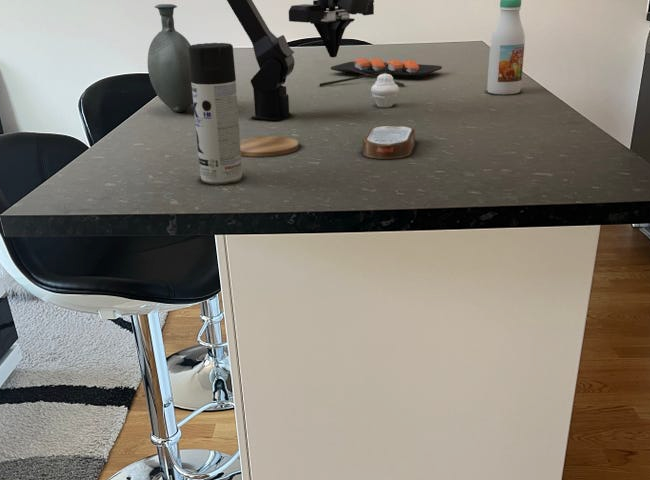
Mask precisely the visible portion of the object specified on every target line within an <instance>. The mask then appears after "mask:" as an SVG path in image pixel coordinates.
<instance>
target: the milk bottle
mask: <svg viewBox="0 0 650 480" xmlns="http://www.w3.org/2000/svg"><path fill="white" fill-rule="evenodd" d="M521 6H522V0H500V1H499V10H500V14H499V18H498V20H497V23H496V24H495V27H494V28H493V31H492V34H491V38H490V45H489V56H488V57H489V58H488V68H487V69H488V70H487V83H486V84H487V85H486V91H487V92H488V93H489V94H493V95H514V94H519V93H520V92H521V89H522V80H523V79H522V78H523V69H524V68H523V67H524V55H525V44H526V43H525V41H526V40H525V39H526V37H525V31H524V27H523V25H522V21H521V16H520V11H521V8H522V7H521Z"/></svg>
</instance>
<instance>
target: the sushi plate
mask: <svg viewBox="0 0 650 480" xmlns="http://www.w3.org/2000/svg"><path fill="white" fill-rule="evenodd" d="M442 69H443V66H442V65H435V64H419V63H418V62H416V61H415V60H414V59H413V60H412V59H405V60H402V62H401V61H400V60H399V59H391V60H389V61H387V62H384V61H383V60H382V59H381V58H378V57H377V58H376V57H373V58H371V59H367V58H365V57H360V58H356V59H354V61H347V62H344V63H339V64H336V65H332V66H331V67H330V70H331V71H336V72H341V73H344V75H347V76H353V77H348V78H343V79H337V80H332V81H326V82H321V83H319V86H320V87H323V86H329V85H335V84H341V83H344V82H349V81H355V80H359V79H364V78H369V77H371V78H374V79H377V77H378V76H379V75H381V74H384V73H386V74H390V75H391V76H392V77H393V79H406V80H407V79H409V80H412V79H413V80H415V79H416V80H417V79H421V78H425V77H427V76H429V74H431V73H434V72H437V71H440V70H442ZM354 76H355V77H354ZM393 81H394V82H395V84H397V86H398V87H399V86H400V87H405V84H404V83H403V82H400V81H395V80H393Z"/></svg>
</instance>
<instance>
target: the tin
mask: <svg viewBox="0 0 650 480" xmlns="http://www.w3.org/2000/svg"><path fill="white" fill-rule="evenodd" d="M415 135H416V134H415V129H414V128H413V127H411V126H407V125H401V126H400V125H399V126H398V125H397V126H395V125H379V126H374V127H372V128H370V130H368V133H367V134H366V135H365V137H364V138H363V143H362V150H363V151H362V155H363V156H364V157H367V158H371V159H378V160H394V159H402V158H405V157H408V156H410V155H411V154H412V152H413V150H414V149H413V148H414V147H415V145H416V141H415V139H416V138H415V137H416V136H415Z"/></svg>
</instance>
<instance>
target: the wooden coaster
mask: <svg viewBox="0 0 650 480" xmlns="http://www.w3.org/2000/svg"><path fill="white" fill-rule="evenodd" d="M240 148H241V156H244V157H256V158H265V157H266V158H267V157H277V156H283V155H287V154H290V153H294V152H296V151H297V150H298V149H299V141H298V140H296V139H295V138H291V137H285V136H257V137H249V138H244V139H240Z"/></svg>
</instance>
